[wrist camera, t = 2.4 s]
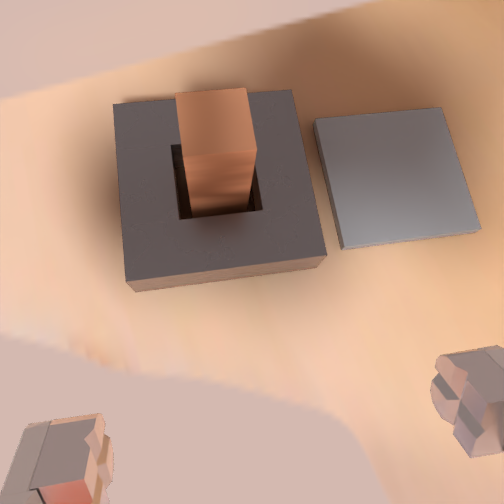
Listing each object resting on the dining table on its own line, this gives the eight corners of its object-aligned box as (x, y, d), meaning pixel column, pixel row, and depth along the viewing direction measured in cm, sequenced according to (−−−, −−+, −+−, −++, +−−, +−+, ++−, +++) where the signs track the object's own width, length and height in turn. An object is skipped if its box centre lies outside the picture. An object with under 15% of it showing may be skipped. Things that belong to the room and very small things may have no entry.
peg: (237, 171, 30) (245, 87, 21) (245, 217, 29) (257, 149, 20) (187, 176, 29) (174, 93, 21) (193, 223, 28) (182, 156, 20)
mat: (435, 113, 33) (441, 107, 32) (474, 232, 30) (481, 228, 29) (312, 125, 31) (315, 118, 31) (341, 250, 29) (344, 246, 28)
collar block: (284, 116, 31) (291, 89, 28) (316, 267, 28) (327, 255, 25) (122, 130, 30) (112, 104, 27) (135, 292, 27) (125, 281, 24)
